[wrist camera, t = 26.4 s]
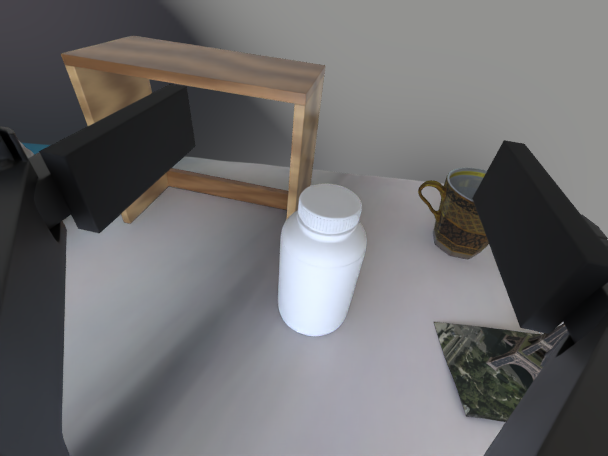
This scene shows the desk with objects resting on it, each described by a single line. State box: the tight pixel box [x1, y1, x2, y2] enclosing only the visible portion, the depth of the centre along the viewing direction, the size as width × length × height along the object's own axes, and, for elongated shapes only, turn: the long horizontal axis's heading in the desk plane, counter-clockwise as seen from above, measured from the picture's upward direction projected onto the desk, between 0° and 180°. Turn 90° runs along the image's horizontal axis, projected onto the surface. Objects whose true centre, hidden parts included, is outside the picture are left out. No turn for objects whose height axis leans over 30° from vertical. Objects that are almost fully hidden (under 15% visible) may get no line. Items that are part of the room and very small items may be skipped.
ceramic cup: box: [418, 168, 489, 259], centre depth 43 cm, size 13×10×10 cm
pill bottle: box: [278, 184, 367, 336], centre depth 30 cm, size 8×8×15 cm
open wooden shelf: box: [61, 36, 325, 223], centre depth 39 cm, size 11×24×21 cm, turn 78°
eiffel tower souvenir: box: [434, 322, 569, 422], centre depth 27 cm, size 15×10×13 cm
